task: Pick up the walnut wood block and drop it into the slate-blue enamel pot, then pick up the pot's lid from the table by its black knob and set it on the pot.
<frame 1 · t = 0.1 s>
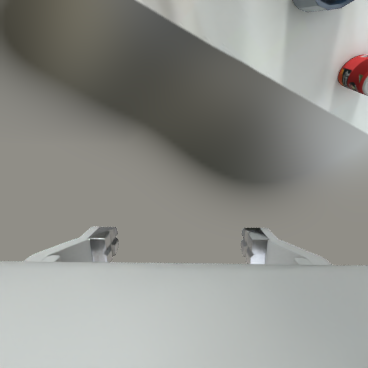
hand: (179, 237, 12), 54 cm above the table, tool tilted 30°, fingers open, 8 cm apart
canned food: (352, 70, 52), on the table
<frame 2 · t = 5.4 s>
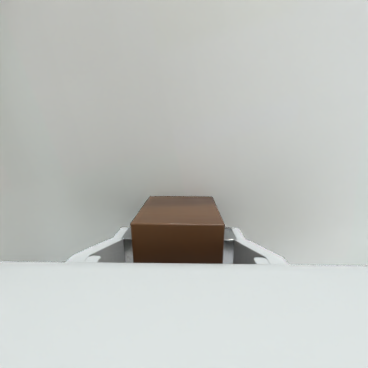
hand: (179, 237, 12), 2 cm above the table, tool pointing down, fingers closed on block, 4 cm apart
block: (181, 225, 13), on the table, touching gripper
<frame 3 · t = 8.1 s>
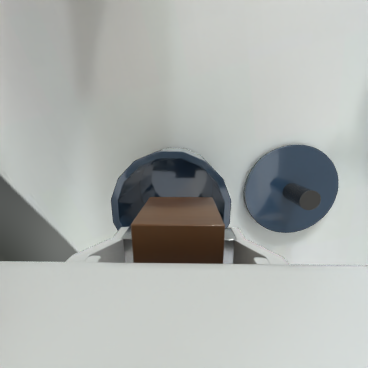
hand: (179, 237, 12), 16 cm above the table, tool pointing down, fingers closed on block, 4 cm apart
lid: (289, 190, 27), point 1 cm above the table
block: (181, 225, 13), point 15 cm above the table, touching gripper
pot: (176, 188, 28), on the table
when the fingers open (8 cm above the table, at t = 10.8 s): block drops 6 cm, resting on pot.
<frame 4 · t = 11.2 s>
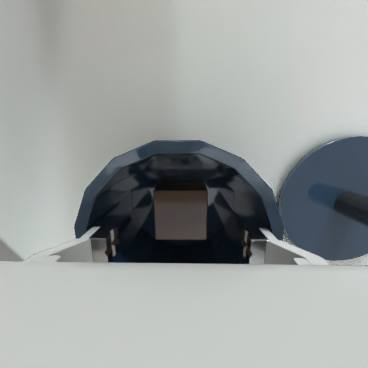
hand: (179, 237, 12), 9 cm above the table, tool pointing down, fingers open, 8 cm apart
lid: (342, 201, 19), point 1 cm above the table
block: (182, 199, 20), resting on pot
pot: (182, 199, 20), on the table
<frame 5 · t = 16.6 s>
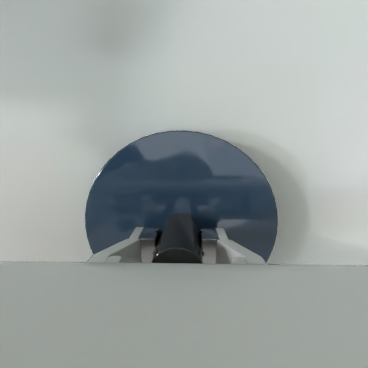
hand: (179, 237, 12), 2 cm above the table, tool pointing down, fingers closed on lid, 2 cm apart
lid: (180, 226, 13), point 1 cm above the table, touching gripper
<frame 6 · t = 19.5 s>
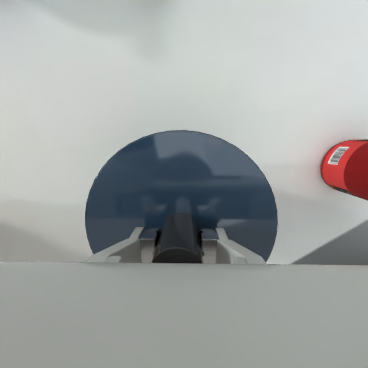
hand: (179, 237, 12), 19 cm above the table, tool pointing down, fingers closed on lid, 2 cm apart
lid: (180, 226, 13), point 17 cm above the table, touching gripper
canned food: (342, 165, 29), on the table
when the fingers open (11 cm above the table, at t = 22.6 s): lid stays where it is, resting on pot.
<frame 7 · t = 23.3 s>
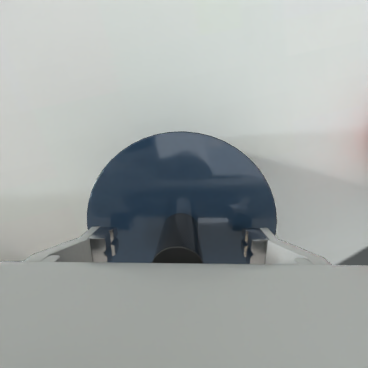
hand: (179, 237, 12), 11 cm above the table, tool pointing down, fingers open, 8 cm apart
lid: (181, 226, 13), point 9 cm above the table, touching pot
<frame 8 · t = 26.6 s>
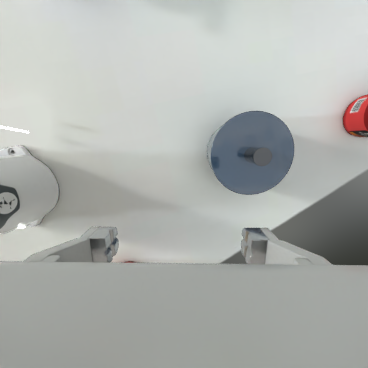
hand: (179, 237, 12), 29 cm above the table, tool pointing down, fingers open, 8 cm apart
lid: (250, 154, 30), point 9 cm above the table, touching pot
canned food: (359, 117, 37), on the table
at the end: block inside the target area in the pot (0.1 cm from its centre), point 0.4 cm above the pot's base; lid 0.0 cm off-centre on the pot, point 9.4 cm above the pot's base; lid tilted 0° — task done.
